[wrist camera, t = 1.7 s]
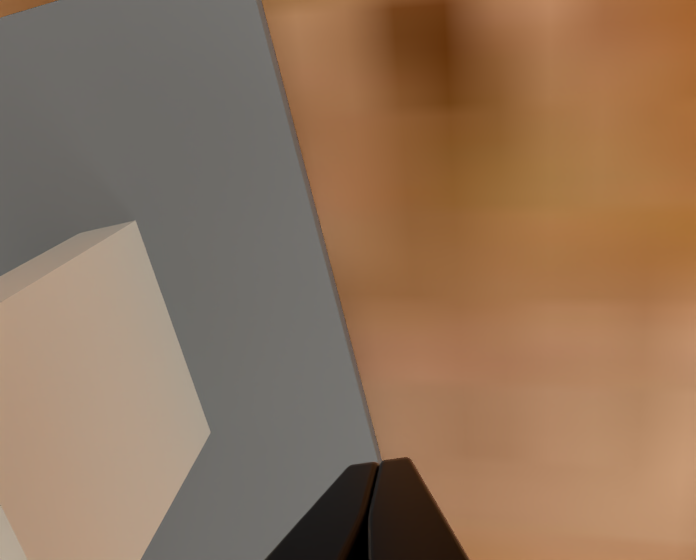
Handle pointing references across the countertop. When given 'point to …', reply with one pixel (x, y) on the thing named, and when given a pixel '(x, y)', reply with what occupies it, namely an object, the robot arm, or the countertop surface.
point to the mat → (194, 239)
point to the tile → (91, 402)
